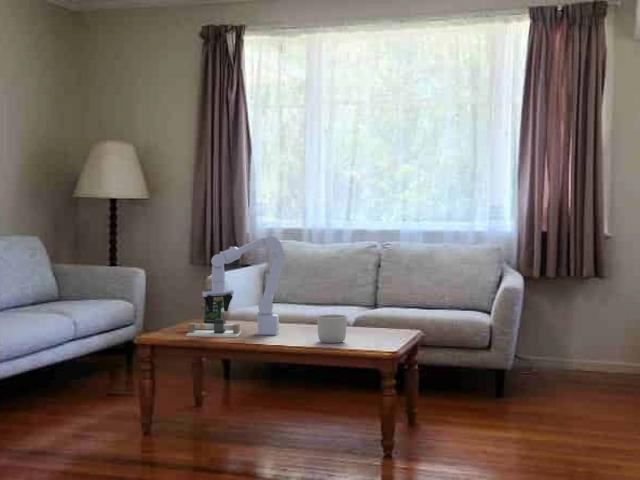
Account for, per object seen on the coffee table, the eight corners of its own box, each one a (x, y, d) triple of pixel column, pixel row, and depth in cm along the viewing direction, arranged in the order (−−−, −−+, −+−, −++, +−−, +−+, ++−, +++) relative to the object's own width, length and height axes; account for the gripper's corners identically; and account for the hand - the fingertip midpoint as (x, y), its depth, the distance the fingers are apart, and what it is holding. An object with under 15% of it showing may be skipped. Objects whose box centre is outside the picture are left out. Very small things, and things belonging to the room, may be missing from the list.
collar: (225, 331, 355) (225, 318, 355) (222, 332, 349) (222, 319, 349) (216, 330, 355) (216, 318, 355) (213, 332, 350) (213, 319, 349)
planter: (316, 339, 341) (316, 314, 341) (344, 339, 342) (345, 314, 341) (318, 344, 329) (318, 318, 328) (348, 344, 329) (348, 318, 329)
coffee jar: (201, 329, 369) (201, 289, 369) (208, 326, 377) (208, 287, 376) (220, 330, 367) (220, 289, 366) (227, 327, 374) (227, 288, 374)
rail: (241, 333, 358) (241, 322, 357) (236, 337, 346) (236, 326, 345) (192, 332, 359) (192, 321, 359) (186, 336, 347) (186, 325, 347)
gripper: (227, 279, 362) (227, 309, 363) (199, 281, 353) (199, 312, 354) (235, 280, 357) (236, 311, 357) (207, 282, 348) (207, 313, 348)
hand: (218, 311), depth 355 cm, fingers open, 7 cm apart
